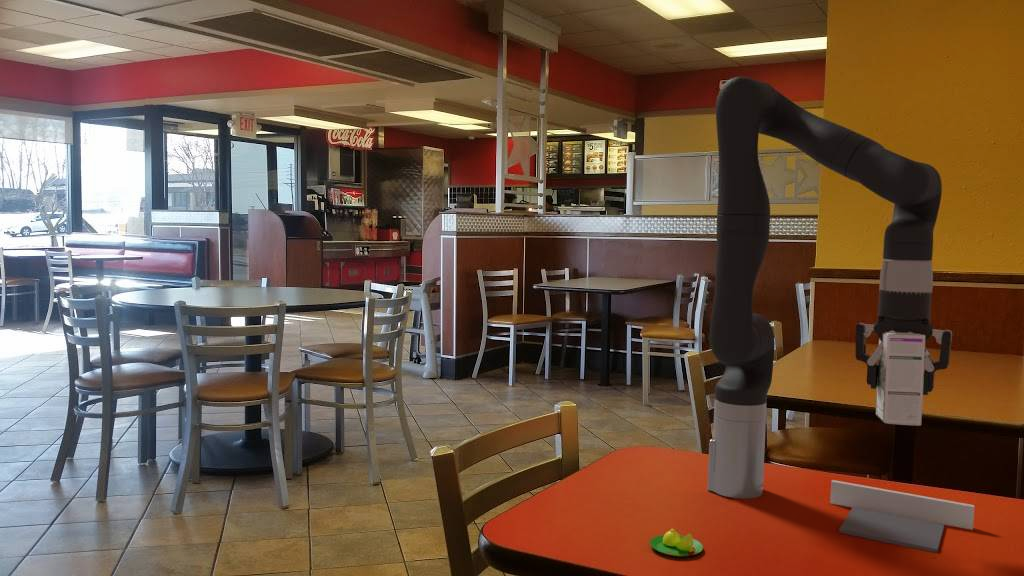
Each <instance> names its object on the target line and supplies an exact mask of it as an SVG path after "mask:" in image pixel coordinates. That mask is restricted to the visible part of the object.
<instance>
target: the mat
mask: <svg viewBox="0 0 1024 576" xmlns="http://www.w3.org/2000/svg"><path fill="white" fill-rule="evenodd" d="M838 529H839V531H838V533H839V534H845V535H849V536H853V537H854V536H855V537H858V538H863V539H868V540H873V541H877V542H883V543H888V544H891V545H897V546H902V547H906V548H910V549H911V548H912V549H916V550H922V551H925V552H931V553H936V554H937V553H938V551H939V548H940V544H941V540H942V537H943V533H944V529H945V525H944V524H938V523H933V522H927V521H922V520H917V519H911V518H906V517H901V516H896V515H891V514H886V513H880V512H875V511H870V510H865V509H860V508H854V507H853V508H852V507H851V509H850V511H849V513H848V514H847V516H846V517H845V519H844V521H843V522H842V524H841V525H840V527H839V528H838Z"/></svg>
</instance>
